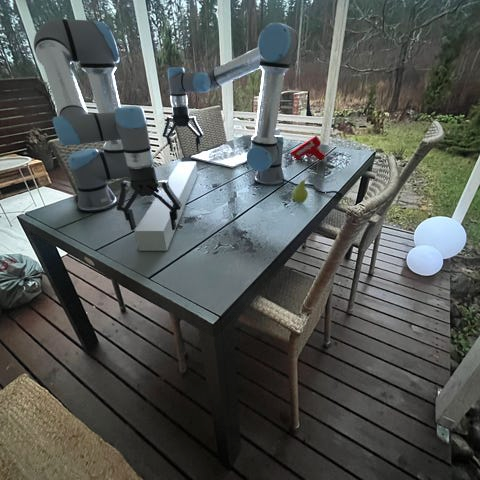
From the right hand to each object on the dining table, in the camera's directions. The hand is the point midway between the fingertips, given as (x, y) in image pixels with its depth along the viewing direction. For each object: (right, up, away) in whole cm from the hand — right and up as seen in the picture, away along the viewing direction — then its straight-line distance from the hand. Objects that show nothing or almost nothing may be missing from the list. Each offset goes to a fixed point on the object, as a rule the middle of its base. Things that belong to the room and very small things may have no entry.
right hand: (184, 151), depth 141 cm
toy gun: (+72, +5, +34) cm, 80 cm away
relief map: (+18, +8, +40) cm, 45 cm away
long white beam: (0, -30, -19) cm, 36 cm away
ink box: (+54, +26, +67) cm, 90 cm away
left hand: (0, -42, -50) cm, 66 cm away
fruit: (+55, -29, -19) cm, 66 cm away
